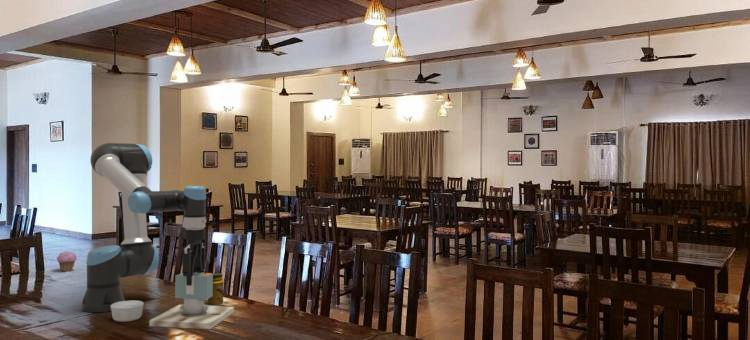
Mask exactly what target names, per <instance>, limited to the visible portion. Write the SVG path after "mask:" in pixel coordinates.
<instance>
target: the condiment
mask: <svg viewBox="0 0 750 340" xmlns="http://www.w3.org/2000/svg"><path fill="white" fill-rule="evenodd" d="M211 273H212V272H211ZM212 274H213V296H212V297H210V298H208V299H207V301H204V306H223V305H227V303H225V302H224V279H223V276H224V275H223V273H220V272H213V273H212Z"/></svg>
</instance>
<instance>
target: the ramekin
mask: <svg viewBox="0 0 750 340" xmlns="http://www.w3.org/2000/svg"><path fill="white" fill-rule="evenodd" d="M144 307H145V303H144V302H143V301H141V300H131V299H130V300H125V301H121V302H116V303H114V304H112V305H111V307H110V308H111V311H110V312H111V315H112V320H114V321H115V322H124V323H125V322H132V321H137V320H139V319H141V317H142V315H143V310H144Z"/></svg>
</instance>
